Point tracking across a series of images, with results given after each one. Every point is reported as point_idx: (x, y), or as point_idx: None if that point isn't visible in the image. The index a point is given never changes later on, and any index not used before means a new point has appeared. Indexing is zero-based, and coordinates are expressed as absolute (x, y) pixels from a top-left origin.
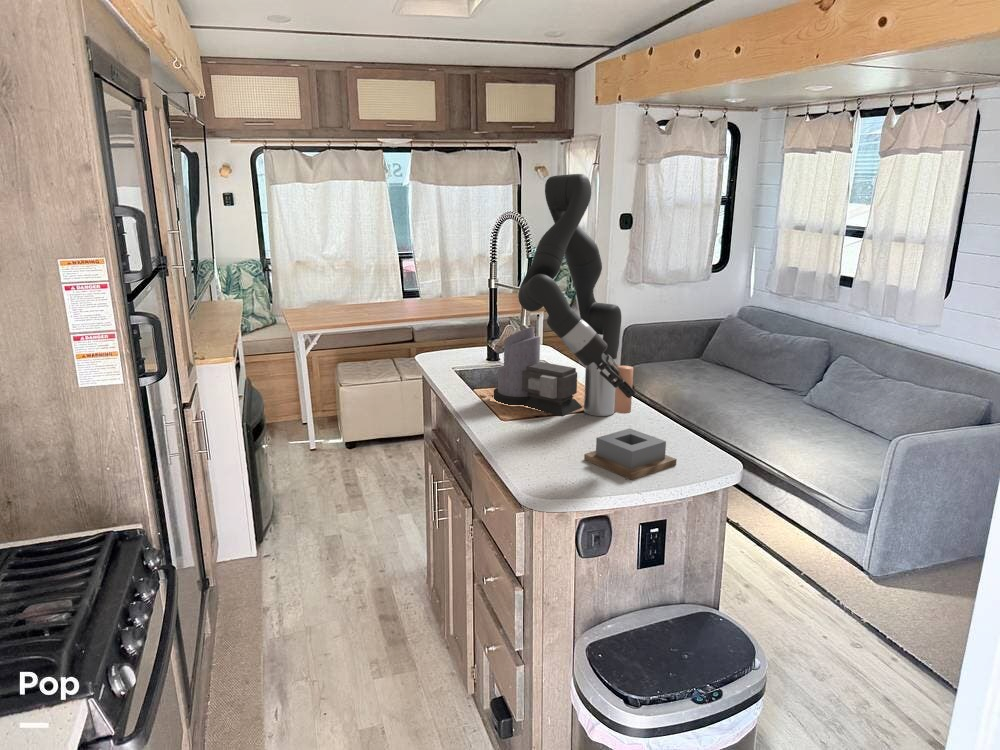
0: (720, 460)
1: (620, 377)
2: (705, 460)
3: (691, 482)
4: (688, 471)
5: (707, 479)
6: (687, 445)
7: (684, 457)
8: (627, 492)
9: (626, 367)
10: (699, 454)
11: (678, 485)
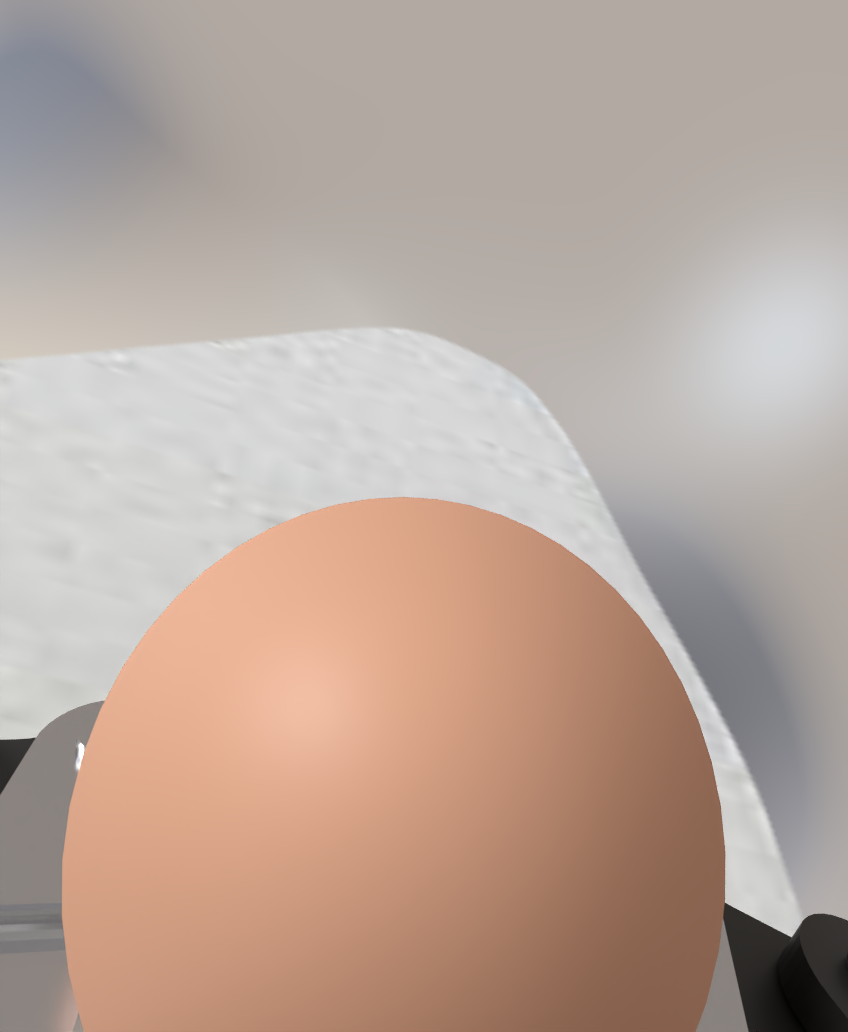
0: (385, 353)
1: (734, 999)
2: (381, 399)
3: (602, 521)
4: (494, 495)
5: (568, 458)
6: (202, 402)
7: (341, 459)
8: (750, 831)
9: (389, 712)
10: (315, 396)
11: (637, 578)
